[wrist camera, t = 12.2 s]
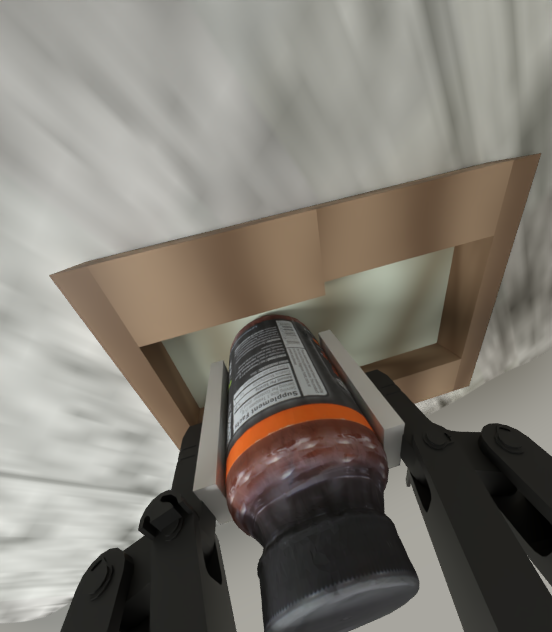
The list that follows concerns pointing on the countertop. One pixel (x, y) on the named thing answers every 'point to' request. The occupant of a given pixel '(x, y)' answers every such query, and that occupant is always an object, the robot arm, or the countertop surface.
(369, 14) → the countertop surface
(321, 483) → the supplement bottle
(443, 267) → the brown wooden picture frame
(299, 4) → the countertop surface
